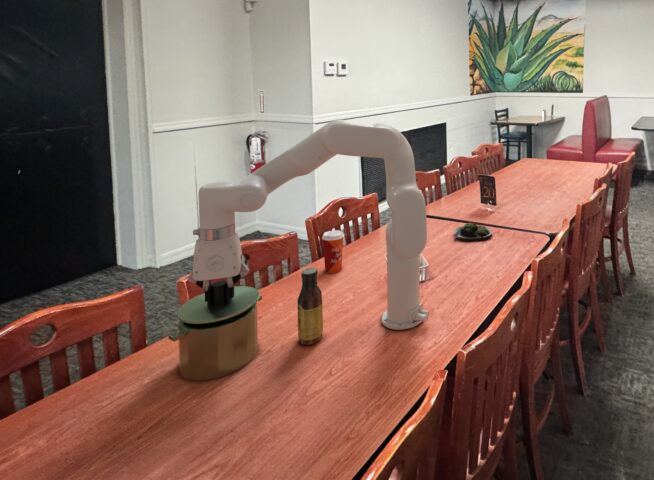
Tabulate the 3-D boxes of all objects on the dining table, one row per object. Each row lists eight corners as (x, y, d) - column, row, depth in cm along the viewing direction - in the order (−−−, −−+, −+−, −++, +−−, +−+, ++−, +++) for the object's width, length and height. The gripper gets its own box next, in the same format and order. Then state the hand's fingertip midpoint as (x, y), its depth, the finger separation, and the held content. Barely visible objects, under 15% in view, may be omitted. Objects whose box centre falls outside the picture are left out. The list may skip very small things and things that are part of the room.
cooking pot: (280, 344, 121) (279, 299, 121) (193, 396, 102) (192, 342, 101) (240, 328, 128) (240, 286, 128) (152, 374, 109) (151, 324, 108)
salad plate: (450, 228, 214) (450, 218, 214) (487, 225, 218) (487, 216, 218) (453, 242, 196) (454, 232, 195) (494, 240, 200) (494, 229, 199)
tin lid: (274, 298, 119) (274, 276, 118) (205, 333, 103) (204, 307, 102) (232, 285, 126) (231, 263, 126) (161, 315, 110) (160, 291, 110)
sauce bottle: (303, 333, 126) (302, 264, 126) (326, 332, 127) (325, 264, 126) (294, 347, 120) (293, 275, 119) (318, 346, 121) (317, 274, 120)
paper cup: (336, 275, 163) (336, 237, 162) (317, 273, 164) (317, 235, 164) (348, 266, 171) (348, 230, 170) (330, 264, 172) (330, 228, 171)
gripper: (173, 241, 107) (176, 315, 108) (251, 233, 113) (253, 303, 114) (184, 230, 114) (186, 300, 115) (257, 223, 120) (259, 290, 121)
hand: (220, 301), depth 114 cm, fingers closed on tin lid, 3 cm apart
